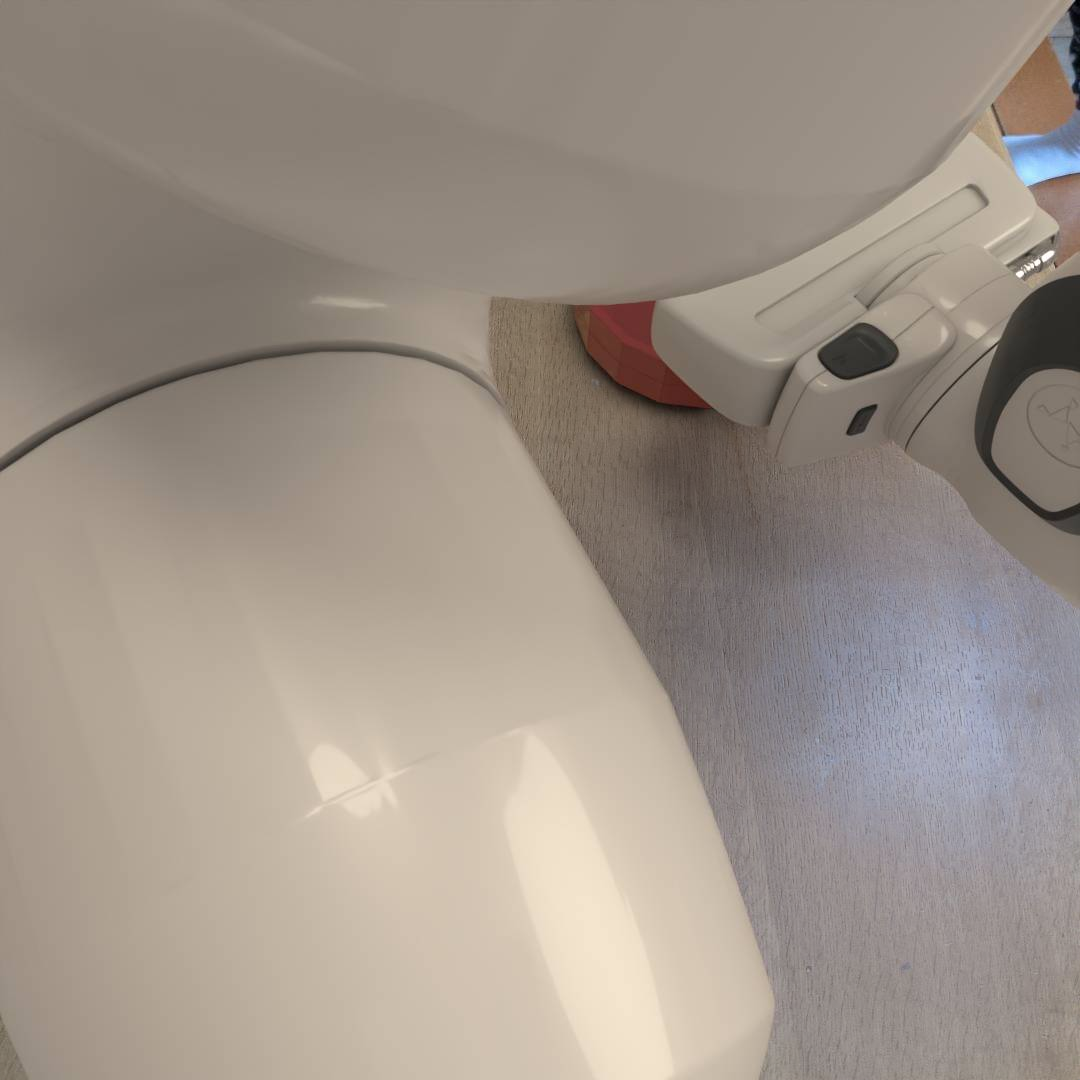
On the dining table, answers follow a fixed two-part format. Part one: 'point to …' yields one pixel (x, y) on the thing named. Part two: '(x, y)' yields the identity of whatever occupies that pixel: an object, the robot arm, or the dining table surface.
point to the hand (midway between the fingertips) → (737, 166)
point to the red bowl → (632, 351)
